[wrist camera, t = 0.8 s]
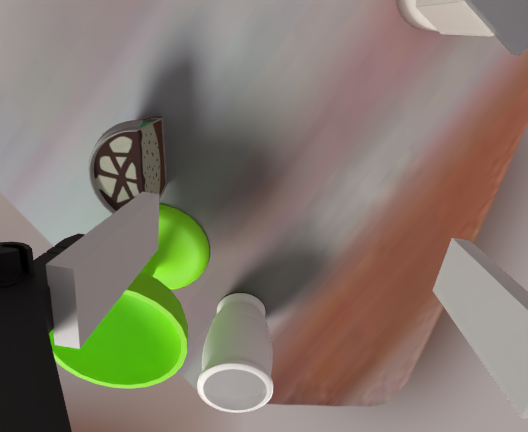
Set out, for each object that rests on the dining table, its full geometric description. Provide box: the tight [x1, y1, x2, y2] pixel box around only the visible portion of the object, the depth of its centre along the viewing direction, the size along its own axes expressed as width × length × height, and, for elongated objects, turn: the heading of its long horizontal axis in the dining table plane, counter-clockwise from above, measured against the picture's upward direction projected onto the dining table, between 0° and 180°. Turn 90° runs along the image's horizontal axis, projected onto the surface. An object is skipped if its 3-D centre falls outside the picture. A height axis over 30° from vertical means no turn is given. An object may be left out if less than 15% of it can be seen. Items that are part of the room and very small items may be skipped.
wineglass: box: [49, 204, 209, 389], centre depth 46 cm, size 16×16×18 cm
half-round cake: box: [89, 117, 167, 214], centre depth 42 cm, size 12×6×10 cm, turn 176°
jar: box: [197, 293, 273, 413], centre depth 53 cm, size 11×10×15 cm
